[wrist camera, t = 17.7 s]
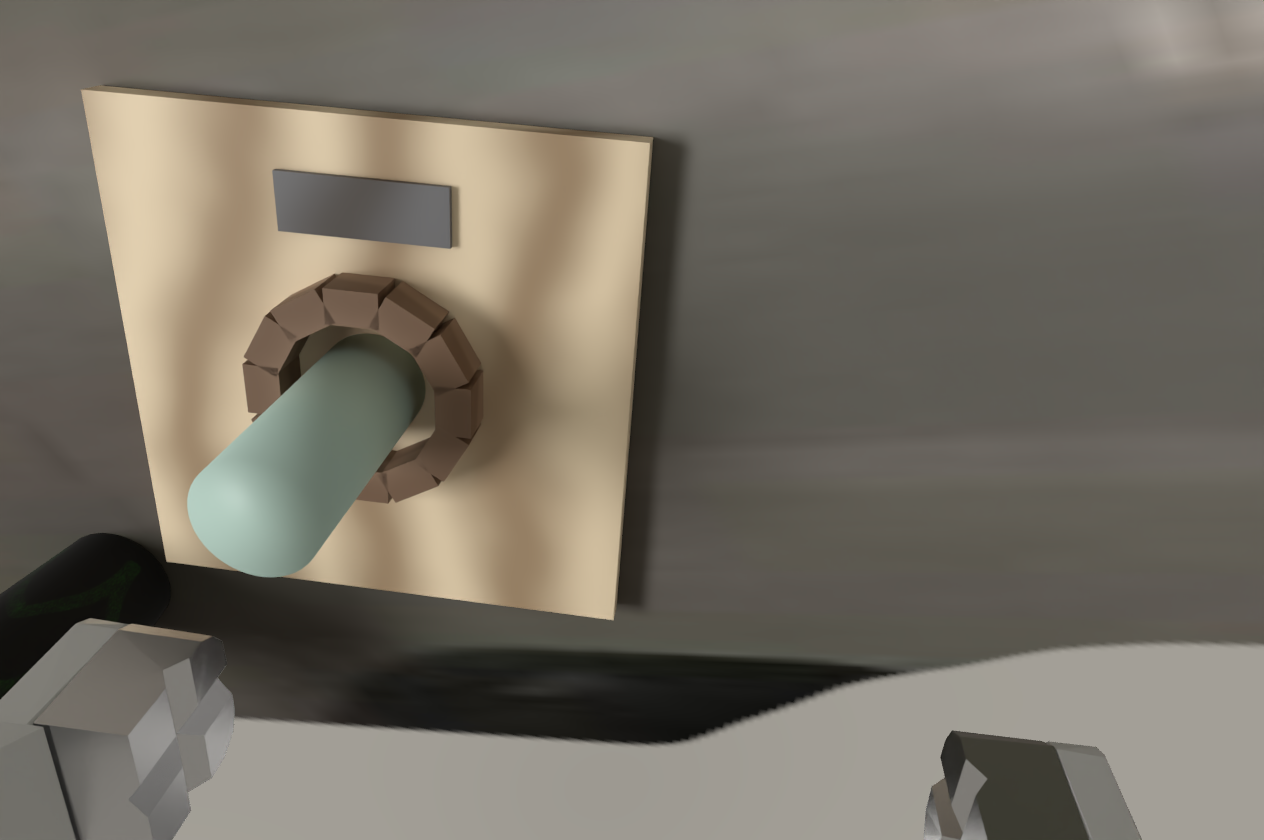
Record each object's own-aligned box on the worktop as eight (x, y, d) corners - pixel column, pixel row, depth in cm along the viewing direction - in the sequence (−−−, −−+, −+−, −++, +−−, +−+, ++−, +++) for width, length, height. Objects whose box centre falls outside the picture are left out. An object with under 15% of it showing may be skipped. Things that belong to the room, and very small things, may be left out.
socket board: (653, 137, 36) (644, 153, 33) (616, 604, 46) (607, 647, 43) (100, 85, 38) (46, 96, 35) (179, 547, 48) (143, 586, 45)
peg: (395, 319, 40) (276, 442, 30) (443, 413, 41) (345, 558, 31) (304, 352, 41) (161, 481, 31) (354, 441, 42) (233, 590, 33)
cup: (190, 653, 51) (40, 841, 40) (51, 619, 51) (-136, 798, 40) (189, 535, 47) (25, 706, 37) (40, 499, 47) (-168, 659, 37)
